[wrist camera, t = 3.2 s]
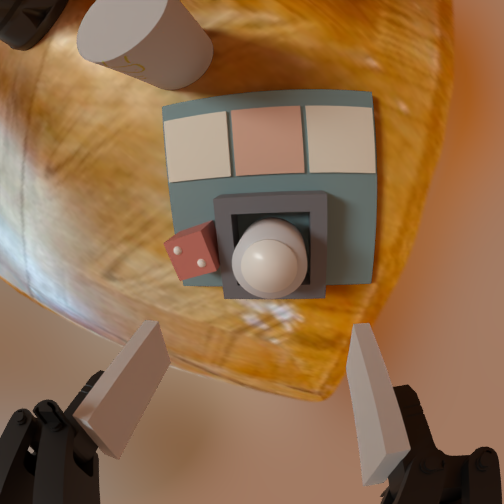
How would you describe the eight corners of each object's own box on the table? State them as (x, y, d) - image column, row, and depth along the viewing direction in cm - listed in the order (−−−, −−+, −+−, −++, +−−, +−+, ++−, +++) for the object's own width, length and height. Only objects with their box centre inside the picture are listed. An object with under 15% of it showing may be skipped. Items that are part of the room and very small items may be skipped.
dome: (243, 278, 27) (234, 301, 23) (237, 218, 25) (227, 231, 21) (304, 277, 26) (307, 300, 22) (304, 216, 24) (307, 229, 20)
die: (192, 265, 30) (178, 282, 26) (179, 231, 28) (162, 244, 24) (226, 255, 29) (215, 272, 25) (212, 220, 28) (199, 231, 24)
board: (186, 282, 32) (174, 297, 28) (166, 107, 25) (149, 102, 21) (368, 279, 28) (377, 295, 25) (369, 94, 22) (380, 85, 18)
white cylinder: (133, 62, 23) (65, 33, 12) (186, 16, 21) (137, -35, 10) (169, 104, 25) (100, 82, 14) (228, 55, 22) (189, 1, 11)
